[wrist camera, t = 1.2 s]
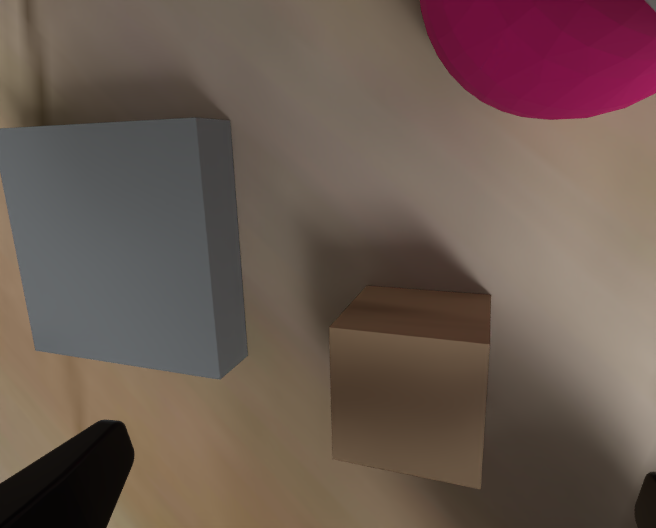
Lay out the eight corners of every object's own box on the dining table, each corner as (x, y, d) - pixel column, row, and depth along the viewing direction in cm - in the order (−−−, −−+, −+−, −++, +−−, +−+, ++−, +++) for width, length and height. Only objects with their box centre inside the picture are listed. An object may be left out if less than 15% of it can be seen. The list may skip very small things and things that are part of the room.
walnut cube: (483, 407, 19) (480, 489, 15) (368, 390, 21) (332, 459, 16) (490, 294, 18) (489, 344, 13) (367, 285, 20) (328, 327, 15)
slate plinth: (247, 355, 22) (220, 379, 20) (75, 332, 26) (35, 350, 24) (230, 120, 20) (195, 117, 18) (40, 130, 23) (-9, 128, 21)
